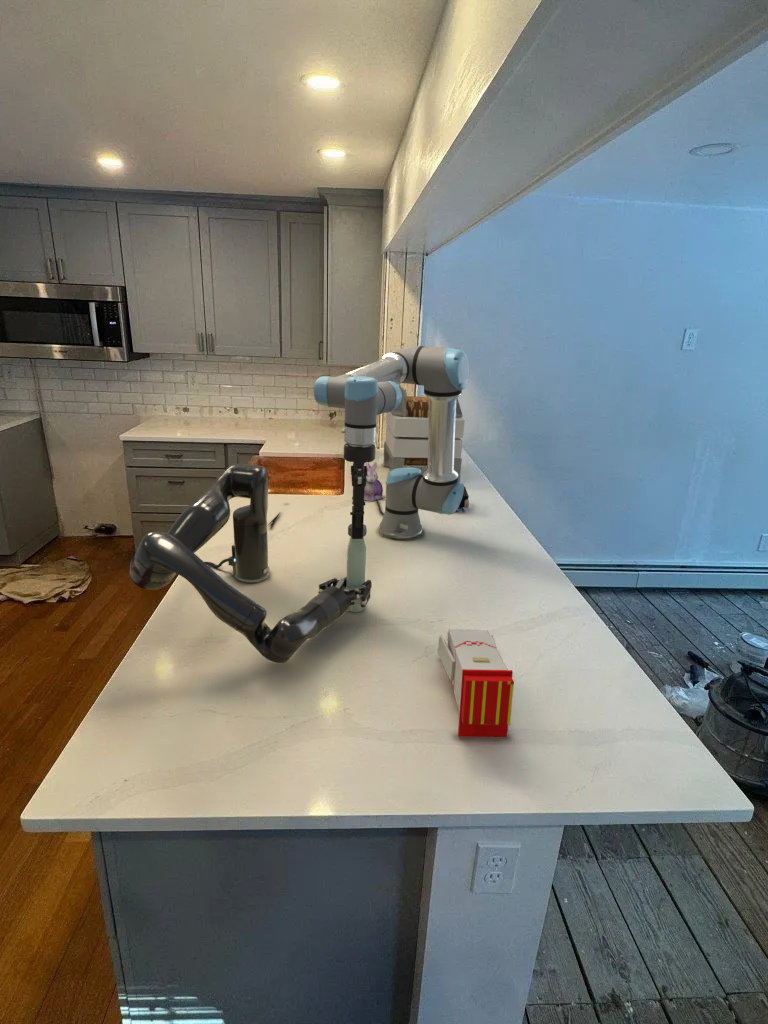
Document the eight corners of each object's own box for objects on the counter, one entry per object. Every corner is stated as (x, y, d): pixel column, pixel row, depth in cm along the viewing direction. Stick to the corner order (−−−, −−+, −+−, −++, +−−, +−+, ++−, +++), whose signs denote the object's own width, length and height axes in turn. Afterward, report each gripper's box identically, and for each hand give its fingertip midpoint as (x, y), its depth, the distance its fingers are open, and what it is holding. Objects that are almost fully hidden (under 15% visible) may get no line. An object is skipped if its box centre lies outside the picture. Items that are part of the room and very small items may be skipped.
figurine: (367, 502, 230) (368, 467, 225) (357, 495, 238) (358, 460, 233) (388, 500, 234) (389, 465, 229) (377, 492, 242) (378, 458, 237)
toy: (488, 613, 130) (523, 677, 101) (484, 667, 133) (517, 744, 104) (435, 612, 130) (455, 676, 101) (432, 666, 133) (451, 743, 103)
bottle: (344, 603, 151) (346, 525, 144) (361, 602, 153) (364, 524, 145) (348, 612, 147) (350, 532, 139) (365, 610, 148) (368, 531, 141)
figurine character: (469, 517, 223) (463, 501, 236) (471, 500, 219) (465, 484, 233) (452, 516, 222) (447, 500, 236) (454, 499, 219) (449, 483, 232)
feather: (287, 506, 225) (290, 502, 224) (270, 530, 198) (272, 526, 198) (283, 504, 225) (286, 500, 224) (265, 527, 198) (268, 523, 197)
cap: (355, 539, 140) (356, 531, 139) (344, 533, 143) (344, 525, 142) (370, 535, 143) (370, 527, 142) (358, 529, 146) (358, 521, 145)
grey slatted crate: (382, 463, 289) (386, 382, 275) (445, 464, 293) (451, 384, 279) (390, 482, 257) (394, 392, 243) (460, 483, 261) (468, 394, 247)
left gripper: (301, 613, 140) (337, 586, 154) (351, 630, 134) (384, 600, 148) (300, 586, 137) (338, 561, 152) (352, 601, 131) (385, 574, 146)
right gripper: (343, 435, 143) (342, 521, 151) (343, 452, 126) (342, 548, 134) (373, 436, 143) (370, 522, 151) (377, 453, 127) (373, 548, 135)
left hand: (360, 580), depth 150 cm, fingers closed on bottle, 4 cm apart
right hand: (357, 534), depth 143 cm, fingers closed on cap, 5 cm apart
